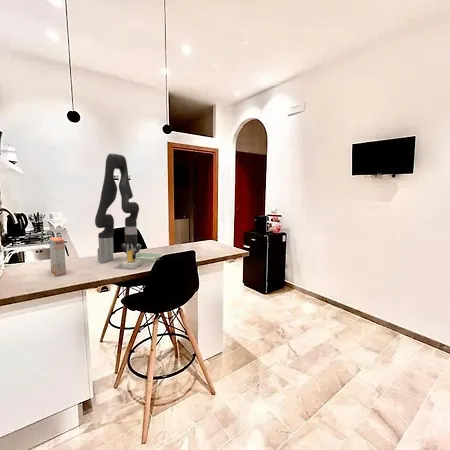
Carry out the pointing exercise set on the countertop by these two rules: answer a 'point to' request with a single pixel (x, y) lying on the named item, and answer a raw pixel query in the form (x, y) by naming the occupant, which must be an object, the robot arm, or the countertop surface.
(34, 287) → the countertop surface
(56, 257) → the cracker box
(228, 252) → the countertop surface
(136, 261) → the block
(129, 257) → the fuse
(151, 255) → the parts tray
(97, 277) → the countertop surface
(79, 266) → the countertop surface
